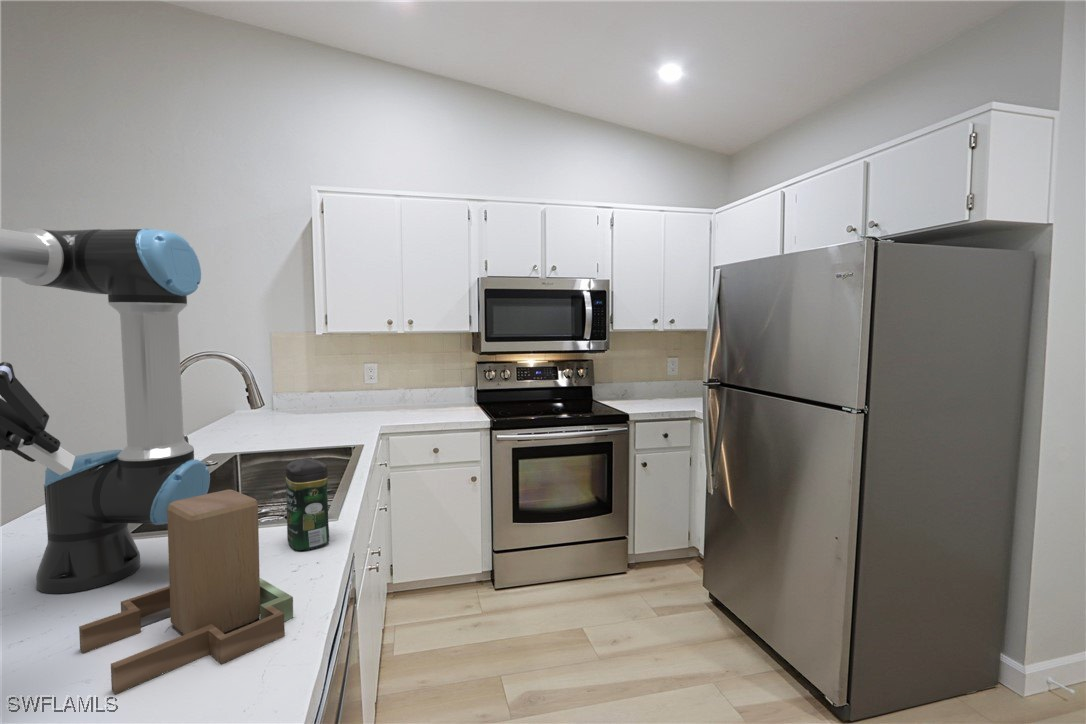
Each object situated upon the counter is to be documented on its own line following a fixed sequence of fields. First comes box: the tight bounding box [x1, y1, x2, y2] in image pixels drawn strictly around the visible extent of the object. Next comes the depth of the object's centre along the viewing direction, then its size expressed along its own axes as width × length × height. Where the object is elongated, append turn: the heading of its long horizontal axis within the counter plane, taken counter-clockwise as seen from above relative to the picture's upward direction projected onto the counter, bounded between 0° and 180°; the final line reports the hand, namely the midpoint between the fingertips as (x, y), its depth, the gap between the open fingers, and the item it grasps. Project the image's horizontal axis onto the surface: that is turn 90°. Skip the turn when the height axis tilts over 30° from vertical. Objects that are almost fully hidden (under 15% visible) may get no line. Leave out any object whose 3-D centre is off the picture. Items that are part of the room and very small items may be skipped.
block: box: [167, 489, 261, 635], centre depth 86 cm, size 10×10×20 cm
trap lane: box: [78, 577, 294, 695], centre depth 83 cm, size 24×24×4 cm
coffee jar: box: [285, 457, 330, 551], centre depth 118 cm, size 10×8×19 cm
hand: (67, 465), depth 75 cm, fingers closed
